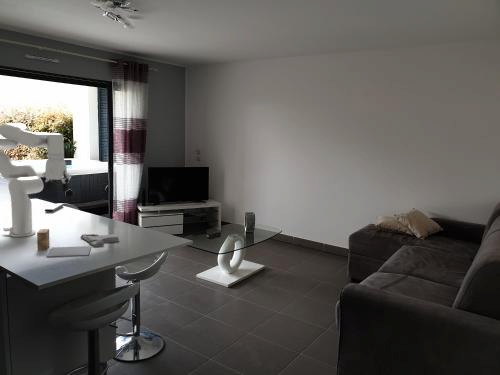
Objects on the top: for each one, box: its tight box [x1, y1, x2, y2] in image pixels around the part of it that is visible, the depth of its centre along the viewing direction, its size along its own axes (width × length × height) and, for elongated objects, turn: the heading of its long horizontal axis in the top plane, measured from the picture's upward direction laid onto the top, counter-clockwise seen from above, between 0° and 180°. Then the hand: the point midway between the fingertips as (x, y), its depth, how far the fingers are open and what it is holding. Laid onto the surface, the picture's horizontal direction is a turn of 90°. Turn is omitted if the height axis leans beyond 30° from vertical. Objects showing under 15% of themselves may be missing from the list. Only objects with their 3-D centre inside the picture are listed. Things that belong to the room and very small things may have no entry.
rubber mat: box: [46, 245, 92, 258], centre depth 186 cm, size 18×14×1 cm
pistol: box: [80, 233, 119, 248], centre depth 208 cm, size 20×3×16 cm
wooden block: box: [36, 228, 50, 251], centre depth 190 cm, size 4×7×9 cm, turn 17°
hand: (57, 190), depth 200 cm, fingers open, 9 cm apart
